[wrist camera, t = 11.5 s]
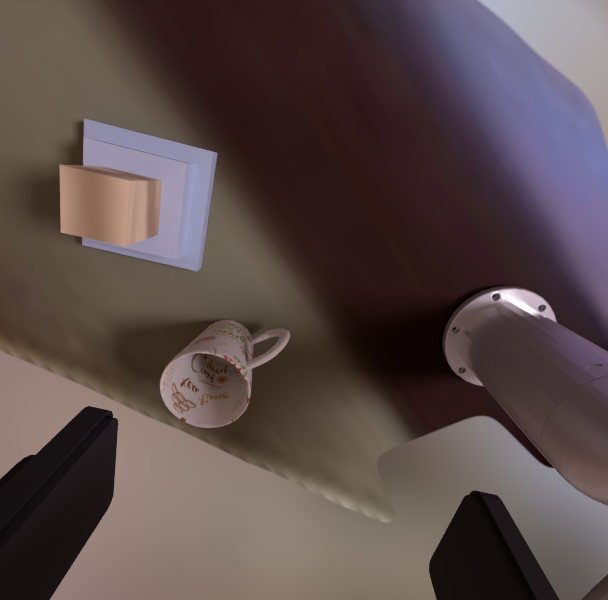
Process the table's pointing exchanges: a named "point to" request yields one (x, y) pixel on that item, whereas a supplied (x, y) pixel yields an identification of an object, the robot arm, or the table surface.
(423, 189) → the table surface
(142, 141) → the plinth
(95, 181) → the beech block
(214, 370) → the mug
